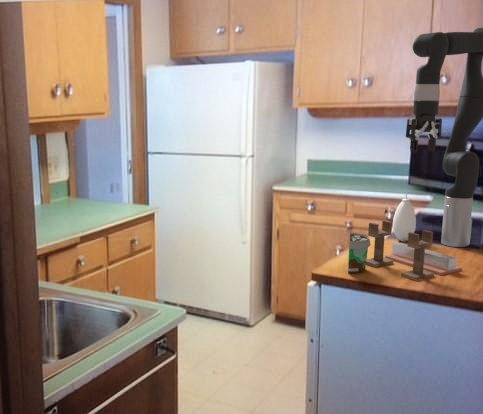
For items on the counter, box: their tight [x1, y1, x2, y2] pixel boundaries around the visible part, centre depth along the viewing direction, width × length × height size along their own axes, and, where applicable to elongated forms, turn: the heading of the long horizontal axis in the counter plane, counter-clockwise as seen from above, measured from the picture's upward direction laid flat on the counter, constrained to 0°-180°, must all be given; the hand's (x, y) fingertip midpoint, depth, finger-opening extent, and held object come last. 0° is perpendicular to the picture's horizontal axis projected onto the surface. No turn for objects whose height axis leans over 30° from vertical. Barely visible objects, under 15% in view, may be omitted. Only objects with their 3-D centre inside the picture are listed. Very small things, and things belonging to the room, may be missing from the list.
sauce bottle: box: [392, 191, 417, 242], centre depth 196 cm, size 8×8×18 cm
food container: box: [347, 232, 371, 275], centre depth 161 cm, size 12×6×10 cm, turn 168°
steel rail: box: [391, 242, 457, 271], centre depth 168 cm, size 4×21×4 cm, turn 34°
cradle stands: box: [366, 220, 435, 282], centre depth 161 cm, size 8×20×13 cm, turn 34°
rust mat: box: [384, 254, 463, 276], centre depth 169 cm, size 10×21×1 cm, turn 34°
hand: (422, 151), depth 173 cm, fingers open, 8 cm apart
